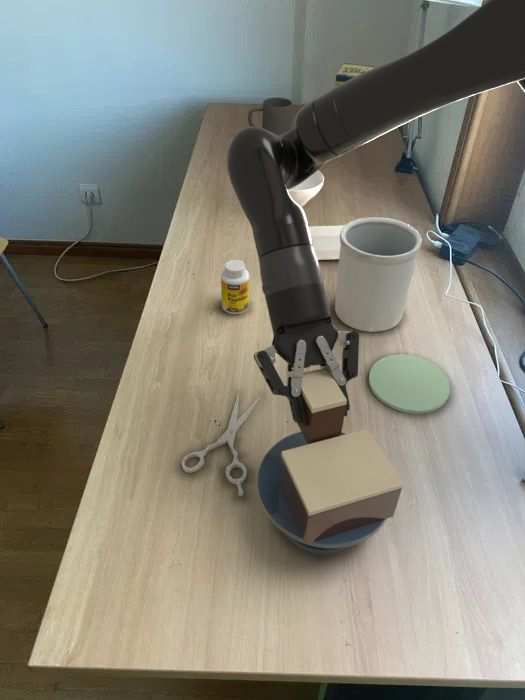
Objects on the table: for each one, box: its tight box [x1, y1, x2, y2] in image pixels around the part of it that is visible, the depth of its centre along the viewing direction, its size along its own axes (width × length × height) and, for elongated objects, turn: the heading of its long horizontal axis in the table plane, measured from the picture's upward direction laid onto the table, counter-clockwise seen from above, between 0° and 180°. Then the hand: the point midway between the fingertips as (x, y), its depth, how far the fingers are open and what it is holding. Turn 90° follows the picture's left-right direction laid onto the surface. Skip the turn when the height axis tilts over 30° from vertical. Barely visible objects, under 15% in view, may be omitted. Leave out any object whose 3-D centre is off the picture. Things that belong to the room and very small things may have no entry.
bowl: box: [288, 170, 325, 208], centre depth 147 cm, size 16×16×7 cm
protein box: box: [334, 62, 375, 88], centre depth 191 cm, size 10×16×16 cm
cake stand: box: [257, 428, 404, 555], centre depth 75 cm, size 18×18×15 cm
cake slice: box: [296, 368, 347, 444], centre depth 71 cm, size 4×6×7 cm
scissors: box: [181, 391, 262, 497], centre depth 89 cm, size 11×1×20 cm
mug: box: [247, 97, 293, 135], centre depth 176 cm, size 14×9×12 cm
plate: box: [368, 353, 451, 415], centre depth 99 cm, size 14×14×1 cm
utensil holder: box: [334, 216, 423, 333], centre depth 109 cm, size 15×15×18 cm
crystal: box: [308, 224, 346, 261], centre depth 129 cm, size 7×7×24 cm
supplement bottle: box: [220, 259, 250, 315], centre depth 112 cm, size 6×6×10 cm
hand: (323, 420), depth 70 cm, fingers closed on cake slice, 4 cm apart
